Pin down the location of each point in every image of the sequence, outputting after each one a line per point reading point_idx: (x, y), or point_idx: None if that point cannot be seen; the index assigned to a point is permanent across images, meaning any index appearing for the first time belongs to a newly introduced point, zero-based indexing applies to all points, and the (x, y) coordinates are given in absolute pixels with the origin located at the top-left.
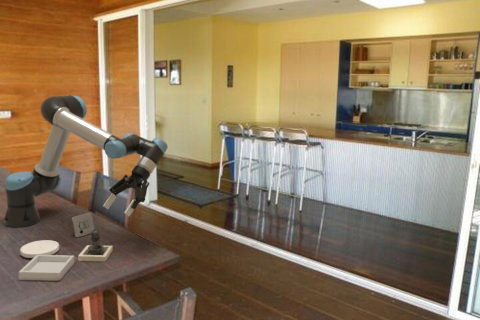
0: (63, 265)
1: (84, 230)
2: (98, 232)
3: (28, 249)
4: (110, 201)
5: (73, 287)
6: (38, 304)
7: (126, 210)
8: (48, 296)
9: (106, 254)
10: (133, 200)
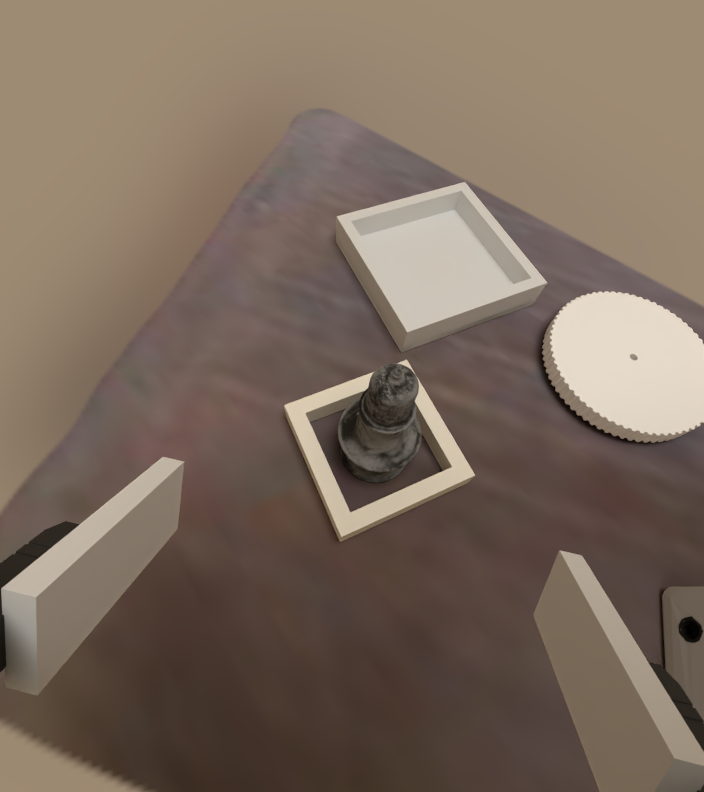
0: (371, 257)
1: (695, 656)
2: (369, 390)
3: (642, 321)
4: (582, 667)
5: (260, 229)
6: (286, 148)
7: (155, 476)
8: (293, 177)
9: (295, 428)
10: (23, 577)
